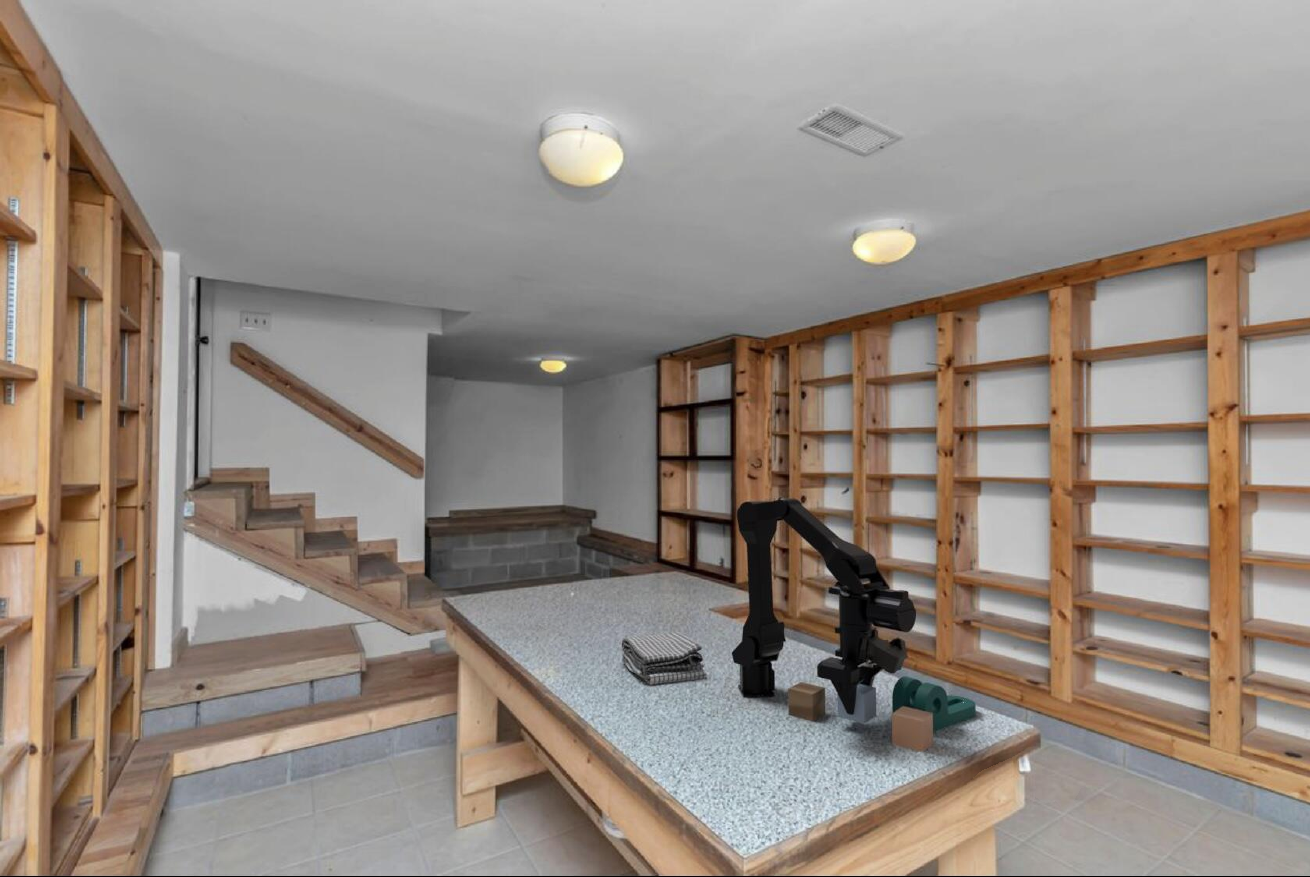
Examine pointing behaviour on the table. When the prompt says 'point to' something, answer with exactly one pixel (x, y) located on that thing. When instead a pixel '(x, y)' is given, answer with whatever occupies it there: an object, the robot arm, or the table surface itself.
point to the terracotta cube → (912, 728)
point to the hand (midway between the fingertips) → (856, 710)
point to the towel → (663, 658)
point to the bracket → (932, 702)
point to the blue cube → (860, 705)
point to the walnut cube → (806, 701)
